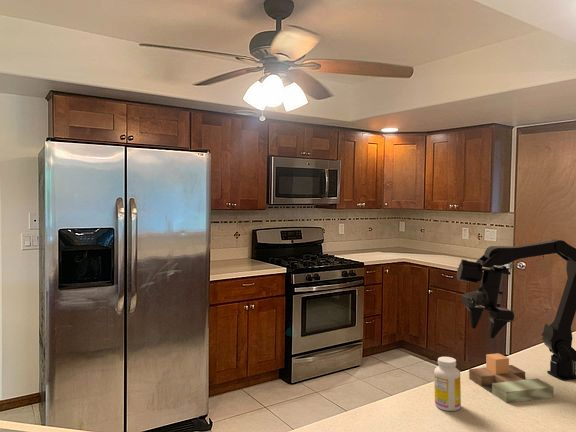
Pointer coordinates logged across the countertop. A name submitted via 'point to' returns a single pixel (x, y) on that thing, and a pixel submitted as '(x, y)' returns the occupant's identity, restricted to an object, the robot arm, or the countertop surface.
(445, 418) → the countertop surface
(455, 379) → the supplement bottle
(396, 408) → the countertop surface
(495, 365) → the block
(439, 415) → the countertop surface
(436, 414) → the countertop surface
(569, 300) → the robot arm
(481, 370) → the trap board
